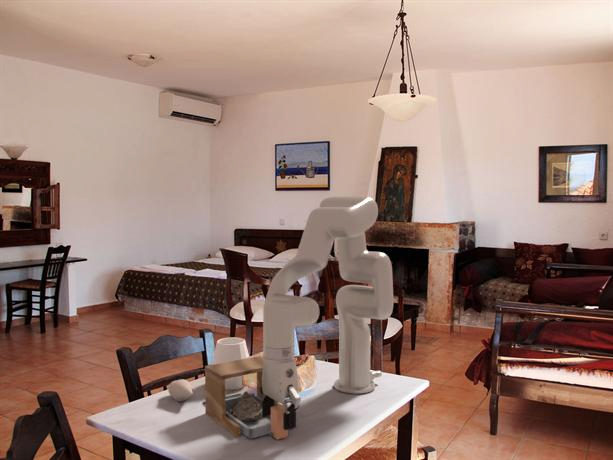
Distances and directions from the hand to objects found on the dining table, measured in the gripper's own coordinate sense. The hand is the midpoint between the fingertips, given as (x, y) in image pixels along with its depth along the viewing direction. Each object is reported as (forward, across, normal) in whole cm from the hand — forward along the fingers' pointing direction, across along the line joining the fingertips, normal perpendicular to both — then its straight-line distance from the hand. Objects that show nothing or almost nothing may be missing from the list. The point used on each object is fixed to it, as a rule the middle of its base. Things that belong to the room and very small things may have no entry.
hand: (278, 421), depth 134 cm
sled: (+4, +11, 0) cm, 11 cm away
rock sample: (+4, +14, +1) cm, 15 cm away
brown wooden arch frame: (+4, +19, 0) cm, 19 cm away
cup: (+4, +41, -8) cm, 42 cm away
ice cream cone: (+4, +36, +10) cm, 38 cm away
